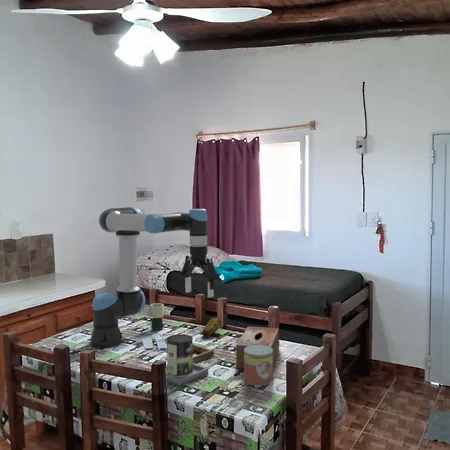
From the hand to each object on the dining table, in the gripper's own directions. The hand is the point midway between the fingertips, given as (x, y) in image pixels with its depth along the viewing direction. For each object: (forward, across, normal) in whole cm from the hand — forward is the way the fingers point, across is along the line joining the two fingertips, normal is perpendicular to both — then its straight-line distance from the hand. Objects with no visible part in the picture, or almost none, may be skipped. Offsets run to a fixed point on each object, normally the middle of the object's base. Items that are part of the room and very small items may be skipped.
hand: (199, 294), depth 203 cm
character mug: (+29, +48, -16) cm, 58 cm away
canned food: (+29, -32, 0) cm, 43 cm away
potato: (+29, +20, -28) cm, 45 cm away
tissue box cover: (+29, -18, -18) cm, 39 cm away
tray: (+29, -6, +17) cm, 34 cm away
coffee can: (+28, -6, +17) cm, 33 cm away
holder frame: (+29, +6, 0) cm, 29 cm away
